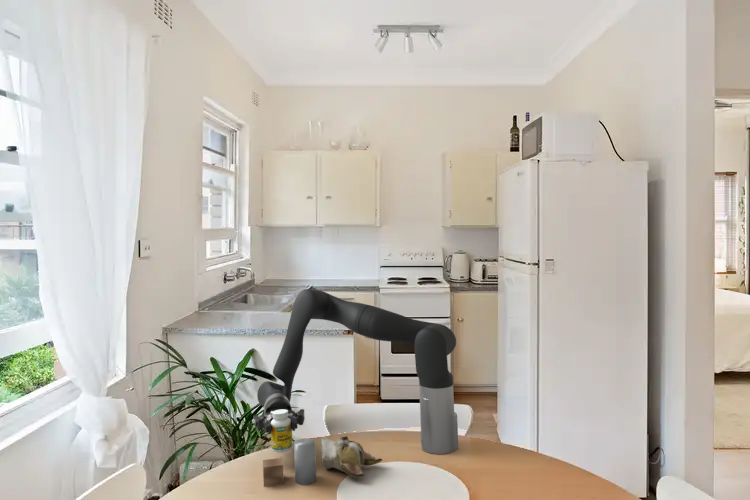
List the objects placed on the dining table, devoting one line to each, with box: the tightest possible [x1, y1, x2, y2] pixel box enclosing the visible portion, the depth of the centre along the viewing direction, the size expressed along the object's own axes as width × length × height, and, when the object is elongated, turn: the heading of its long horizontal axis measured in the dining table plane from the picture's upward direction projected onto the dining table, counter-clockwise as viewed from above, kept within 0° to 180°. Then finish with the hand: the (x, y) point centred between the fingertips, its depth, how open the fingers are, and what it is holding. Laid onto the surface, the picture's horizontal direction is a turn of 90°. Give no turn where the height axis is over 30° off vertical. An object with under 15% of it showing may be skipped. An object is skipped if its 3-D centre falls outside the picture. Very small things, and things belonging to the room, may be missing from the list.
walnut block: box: [262, 457, 284, 487], centre depth 118 cm, size 4×4×4 cm
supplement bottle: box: [270, 409, 294, 454], centre depth 128 cm, size 5×5×10 cm
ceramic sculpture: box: [320, 436, 383, 478], centre depth 123 cm, size 11×9×15 cm
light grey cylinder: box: [293, 437, 317, 486], centre depth 118 cm, size 5×5×9 cm
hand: (281, 428), depth 125 cm, fingers closed on supplement bottle, 5 cm apart
